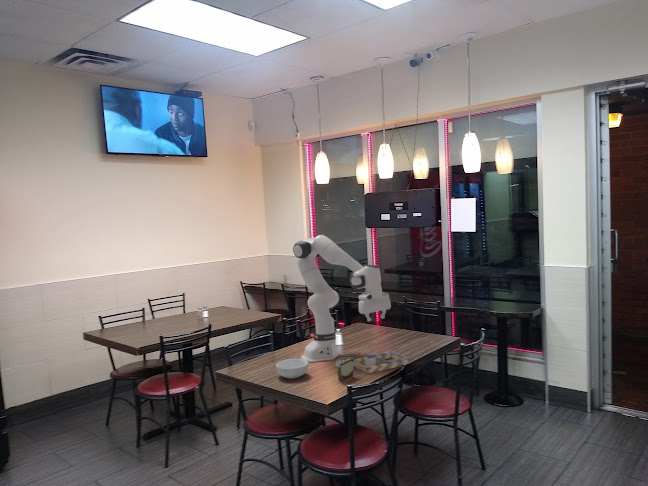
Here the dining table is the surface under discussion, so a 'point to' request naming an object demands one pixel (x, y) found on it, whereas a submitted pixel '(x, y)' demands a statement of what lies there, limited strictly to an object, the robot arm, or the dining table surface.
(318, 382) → the dining table surface
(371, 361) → the plug block
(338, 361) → the food container
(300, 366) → the cereal bowl
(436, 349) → the dining table surface
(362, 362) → the divider frame
